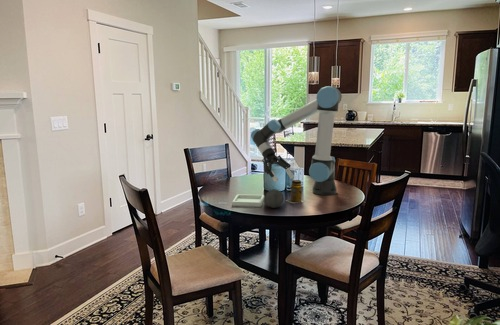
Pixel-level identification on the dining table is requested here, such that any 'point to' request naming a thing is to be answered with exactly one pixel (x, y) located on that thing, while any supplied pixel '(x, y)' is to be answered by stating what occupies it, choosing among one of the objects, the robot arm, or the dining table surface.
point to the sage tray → (248, 200)
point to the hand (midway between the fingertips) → (284, 179)
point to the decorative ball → (274, 198)
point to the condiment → (296, 192)
